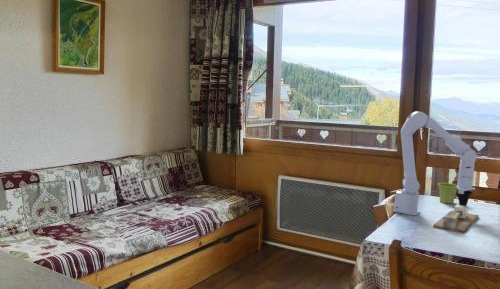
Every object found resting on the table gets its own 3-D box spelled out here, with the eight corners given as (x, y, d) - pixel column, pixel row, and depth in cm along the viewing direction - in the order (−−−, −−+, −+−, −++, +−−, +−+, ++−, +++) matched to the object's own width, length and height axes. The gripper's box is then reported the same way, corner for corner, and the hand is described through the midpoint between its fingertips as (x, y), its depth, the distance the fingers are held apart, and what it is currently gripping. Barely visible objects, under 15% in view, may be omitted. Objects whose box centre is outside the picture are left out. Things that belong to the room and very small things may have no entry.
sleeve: (453, 216, 194) (454, 206, 194) (455, 214, 198) (456, 204, 198) (464, 218, 192) (465, 208, 191) (467, 216, 196) (468, 206, 195)
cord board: (433, 227, 182) (434, 214, 181) (451, 212, 206) (452, 201, 205) (463, 233, 175) (464, 220, 175) (478, 217, 200) (479, 206, 199)
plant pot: (458, 202, 227) (460, 184, 226) (455, 205, 219) (457, 187, 218) (438, 199, 232) (440, 182, 231) (434, 202, 224) (436, 184, 223)
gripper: (472, 180, 188) (469, 212, 189) (479, 175, 200) (476, 206, 201) (454, 177, 192) (451, 209, 194) (461, 173, 204) (458, 203, 205)
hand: (462, 207), depth 198 cm, fingers closed
